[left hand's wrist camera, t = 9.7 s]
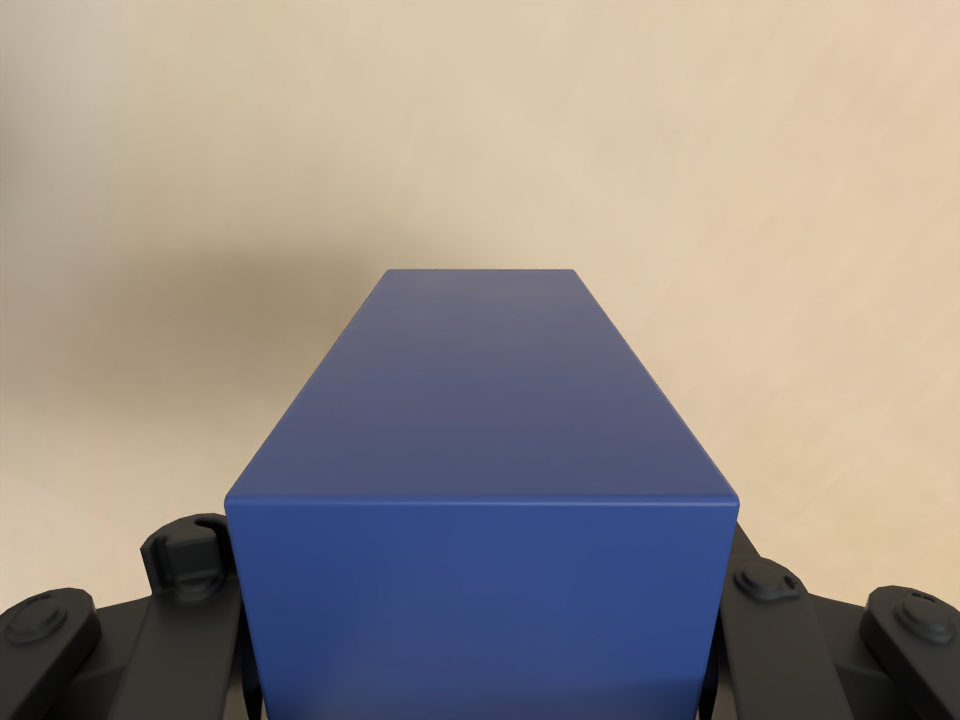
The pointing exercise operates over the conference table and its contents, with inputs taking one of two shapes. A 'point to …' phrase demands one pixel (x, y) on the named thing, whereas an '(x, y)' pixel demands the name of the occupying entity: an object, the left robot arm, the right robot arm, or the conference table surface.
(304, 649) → the brick
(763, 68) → the conference table surface
